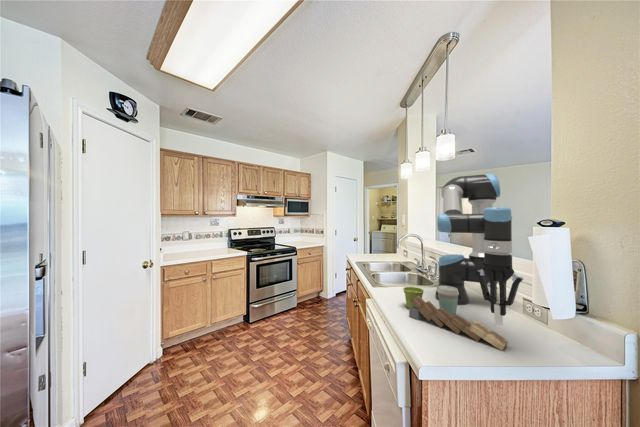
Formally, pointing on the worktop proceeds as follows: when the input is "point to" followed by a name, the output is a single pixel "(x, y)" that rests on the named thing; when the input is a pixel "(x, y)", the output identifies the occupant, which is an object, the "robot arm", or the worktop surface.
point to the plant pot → (412, 294)
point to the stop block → (415, 313)
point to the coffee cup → (448, 298)
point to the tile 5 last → (417, 303)
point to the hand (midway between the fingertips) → (498, 323)
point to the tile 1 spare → (488, 335)
